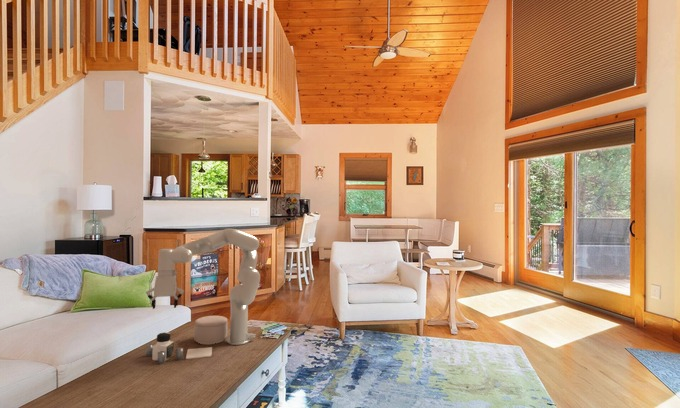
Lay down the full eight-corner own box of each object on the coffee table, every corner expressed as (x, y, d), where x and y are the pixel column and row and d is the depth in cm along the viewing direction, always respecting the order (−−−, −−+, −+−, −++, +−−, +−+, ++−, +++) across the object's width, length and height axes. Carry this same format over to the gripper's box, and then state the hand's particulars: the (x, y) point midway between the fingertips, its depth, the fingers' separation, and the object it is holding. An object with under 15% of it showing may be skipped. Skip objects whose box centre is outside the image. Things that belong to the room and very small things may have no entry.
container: (199, 347, 195) (199, 325, 195) (190, 338, 209) (190, 318, 210) (231, 341, 206) (232, 320, 206) (221, 332, 220) (221, 313, 221)
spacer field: (185, 350, 191) (185, 340, 191) (182, 361, 176) (182, 351, 176) (147, 353, 186) (147, 343, 186) (140, 366, 170) (140, 355, 171)
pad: (212, 348, 195) (212, 347, 195) (211, 356, 183) (211, 355, 183) (187, 350, 191) (188, 349, 191) (185, 359, 179) (185, 357, 179)
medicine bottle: (166, 360, 177) (167, 336, 178) (152, 360, 177) (152, 335, 178) (173, 355, 184) (174, 331, 185) (159, 354, 184) (160, 331, 185)
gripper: (185, 271, 189) (184, 305, 188) (148, 272, 183) (146, 306, 183) (184, 274, 181) (182, 308, 181) (145, 275, 176) (143, 310, 175)
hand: (164, 307), depth 182 cm, fingers open, 9 cm apart
